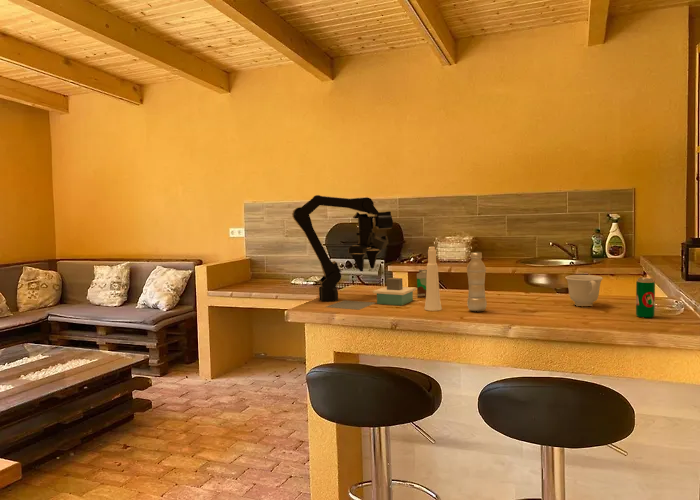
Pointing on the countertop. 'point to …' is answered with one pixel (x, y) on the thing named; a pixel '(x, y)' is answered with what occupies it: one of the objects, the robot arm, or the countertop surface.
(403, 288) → the lid
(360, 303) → the mat
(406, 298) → the dish
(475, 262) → the plastic bottle
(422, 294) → the food container
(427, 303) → the cosmetic bottle
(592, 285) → the teacup
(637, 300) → the soda can
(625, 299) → the countertop surface
